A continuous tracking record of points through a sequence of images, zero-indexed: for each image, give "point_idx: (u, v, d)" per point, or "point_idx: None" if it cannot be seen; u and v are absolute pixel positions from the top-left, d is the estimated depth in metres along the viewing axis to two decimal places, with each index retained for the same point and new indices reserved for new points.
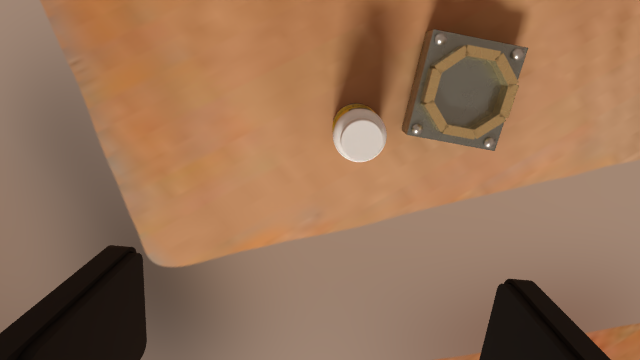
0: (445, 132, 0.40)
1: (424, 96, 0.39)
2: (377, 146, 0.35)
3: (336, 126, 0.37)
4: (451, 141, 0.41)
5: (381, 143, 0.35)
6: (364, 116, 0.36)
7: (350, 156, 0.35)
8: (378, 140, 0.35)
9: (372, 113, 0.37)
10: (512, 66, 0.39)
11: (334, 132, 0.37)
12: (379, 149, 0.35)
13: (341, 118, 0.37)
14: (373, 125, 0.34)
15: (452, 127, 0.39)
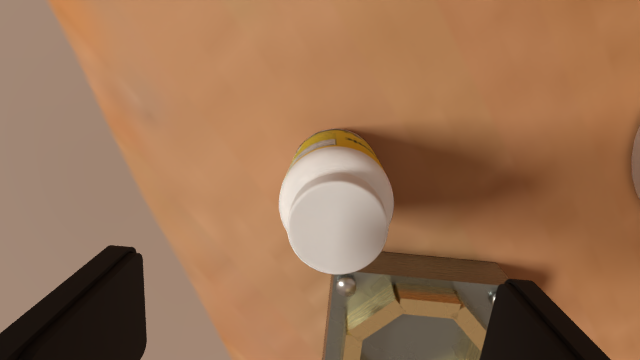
0: (348, 338, 0.22)
1: (410, 295, 0.22)
2: (328, 263, 0.15)
3: (354, 155, 0.16)
4: (329, 339, 0.24)
5: (336, 271, 0.15)
6: None
7: (297, 207, 0.14)
8: (342, 264, 0.15)
9: (387, 226, 0.17)
10: None
11: (340, 151, 0.16)
12: (321, 268, 0.15)
13: (372, 163, 0.17)
14: (376, 249, 0.15)
15: (358, 347, 0.22)
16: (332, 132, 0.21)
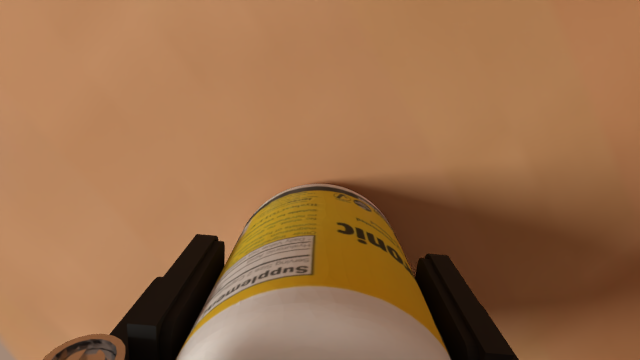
0: None
1: None
2: None
3: (364, 327, 0.05)
4: None
5: None
6: None
7: None
8: None
9: None
10: None
11: (321, 316, 0.05)
12: None
13: (418, 348, 0.06)
14: None
15: None
16: (310, 200, 0.10)
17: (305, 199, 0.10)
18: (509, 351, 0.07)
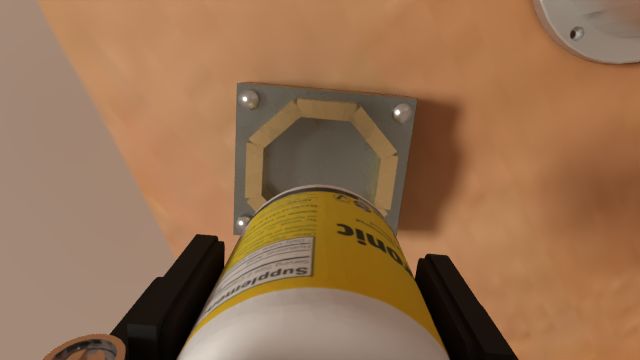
0: (249, 147, 0.22)
1: (308, 99, 0.22)
2: None
3: (363, 329, 0.05)
4: (237, 163, 0.24)
5: None
6: None
7: None
8: None
9: None
10: None
11: (321, 318, 0.05)
12: None
13: (417, 350, 0.06)
14: None
15: (259, 157, 0.22)
16: (310, 201, 0.10)
17: (305, 200, 0.10)
18: (509, 351, 0.07)
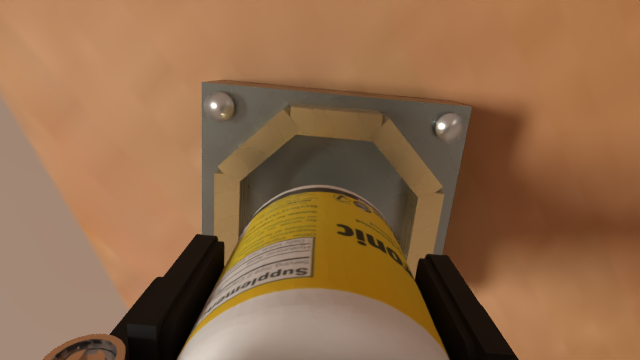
0: (218, 179, 0.15)
1: (307, 107, 0.14)
2: None
3: (363, 329, 0.05)
4: (205, 199, 0.17)
5: None
6: None
7: None
8: None
9: None
10: None
11: (321, 319, 0.05)
12: None
13: (417, 350, 0.06)
14: None
15: (234, 194, 0.15)
16: (310, 202, 0.10)
17: (305, 200, 0.10)
18: (509, 351, 0.07)
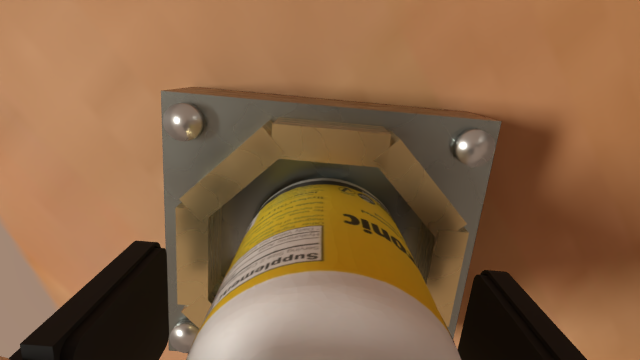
0: (181, 215, 0.11)
1: (294, 123, 0.11)
2: None
3: (372, 307, 0.06)
4: (169, 234, 0.13)
5: None
6: None
7: None
8: None
9: None
10: None
11: (333, 298, 0.06)
12: None
13: (422, 327, 0.06)
14: None
15: (202, 234, 0.12)
16: (317, 193, 0.11)
17: (311, 192, 0.11)
18: None
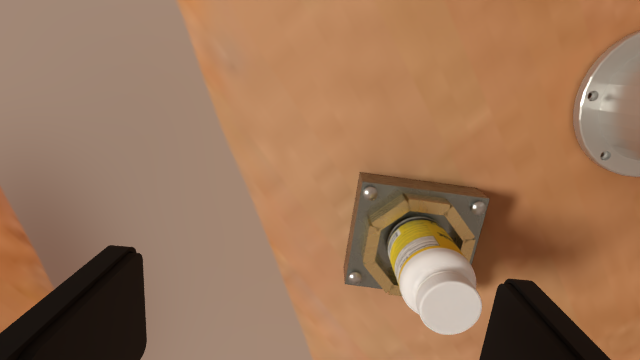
0: (371, 228, 0.31)
1: (415, 198, 0.31)
2: (442, 328, 0.24)
3: (455, 256, 0.26)
4: (355, 235, 0.33)
5: (446, 332, 0.24)
6: None
7: (428, 295, 0.24)
8: (451, 328, 0.24)
9: None
10: None
11: (446, 253, 0.26)
12: (437, 331, 0.24)
13: (465, 261, 0.26)
14: (472, 321, 0.24)
15: (377, 236, 0.32)
16: (423, 224, 0.31)
17: (421, 223, 0.31)
18: None
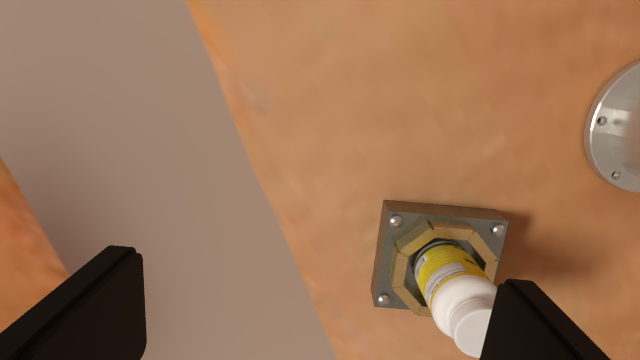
0: (399, 255, 0.33)
1: (440, 225, 0.33)
2: (476, 352, 0.26)
3: (483, 282, 0.28)
4: (382, 260, 0.35)
5: None
6: None
7: (462, 322, 0.26)
8: None
9: None
10: None
11: (475, 280, 0.28)
12: (472, 354, 0.26)
13: (493, 287, 0.28)
14: None
15: (405, 262, 0.33)
16: (449, 249, 0.32)
17: (446, 248, 0.33)
18: None
